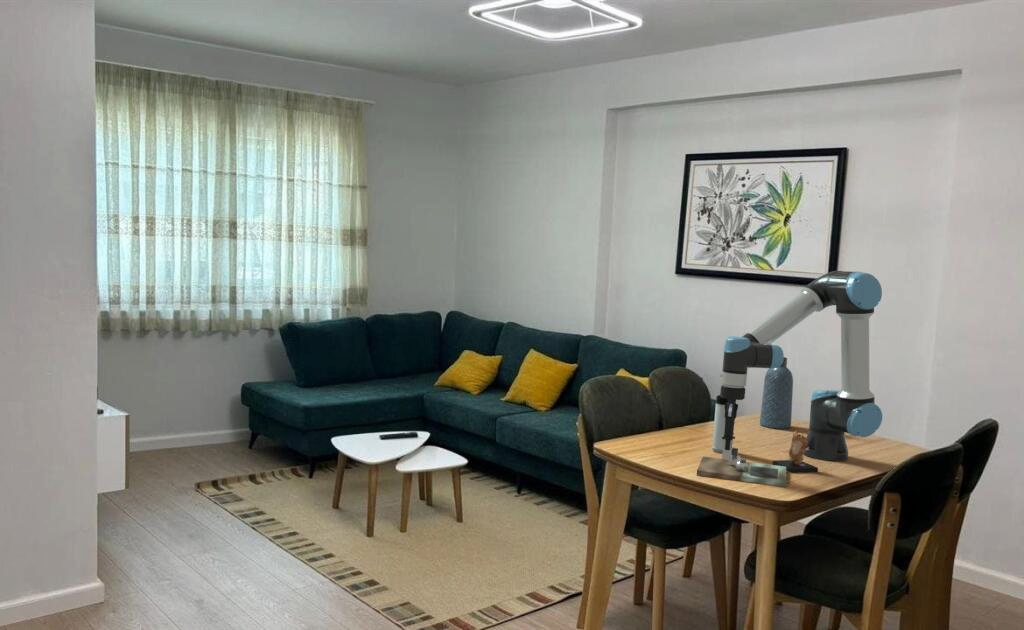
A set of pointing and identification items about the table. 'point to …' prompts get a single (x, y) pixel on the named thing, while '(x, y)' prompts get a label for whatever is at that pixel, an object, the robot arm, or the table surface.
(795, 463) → the figurine
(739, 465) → the bar
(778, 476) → the door board
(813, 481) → the table surface
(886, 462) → the table surface
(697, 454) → the table surface
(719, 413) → the travel mug
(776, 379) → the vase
